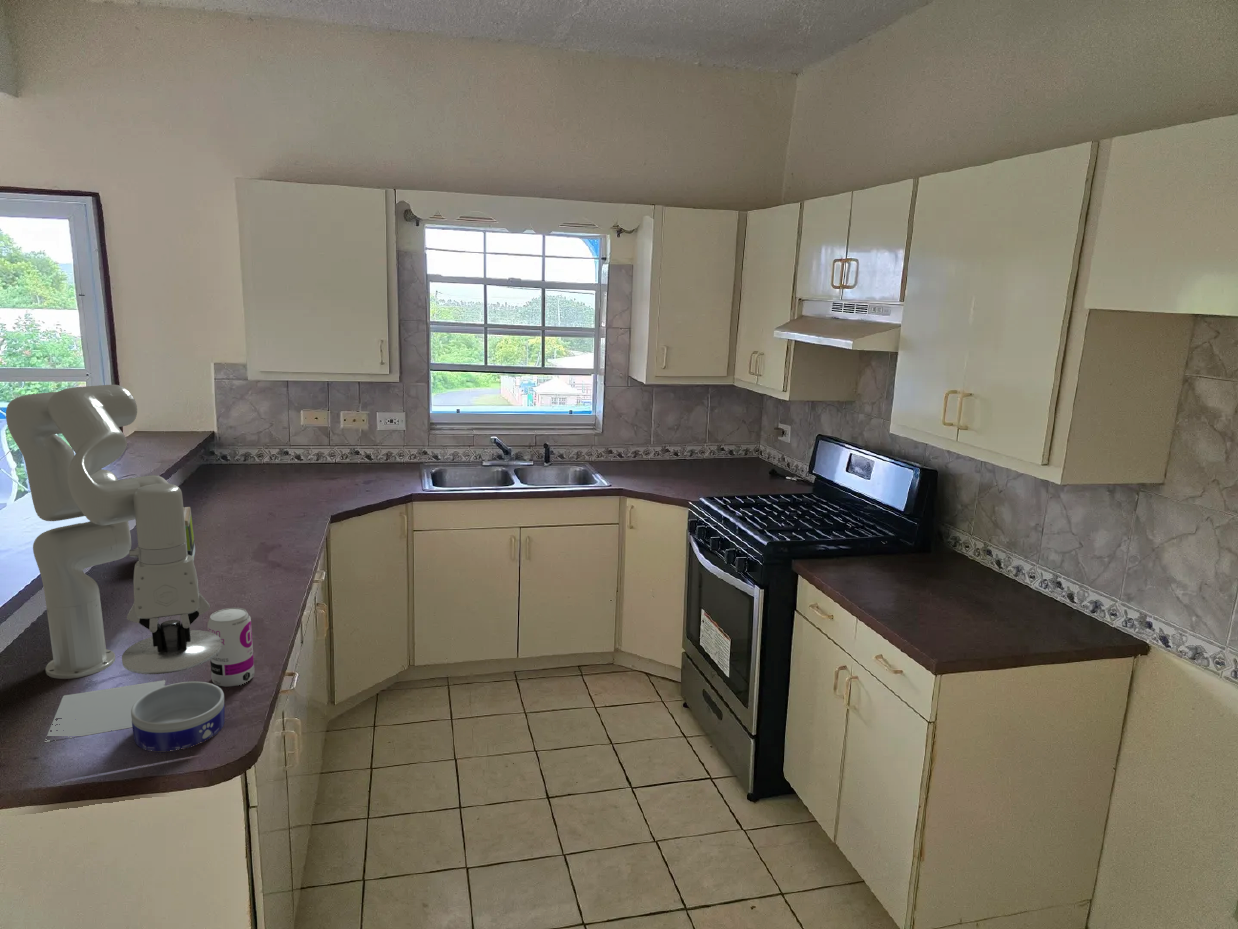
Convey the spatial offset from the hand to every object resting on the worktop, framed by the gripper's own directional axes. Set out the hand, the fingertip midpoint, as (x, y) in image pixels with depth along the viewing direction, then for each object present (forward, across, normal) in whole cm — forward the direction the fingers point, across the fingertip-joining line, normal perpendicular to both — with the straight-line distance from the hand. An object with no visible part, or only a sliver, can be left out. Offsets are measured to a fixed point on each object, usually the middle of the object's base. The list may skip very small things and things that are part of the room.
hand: (172, 646), depth 146 cm
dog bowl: (+17, 0, 0) cm, 17 cm away
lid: (+1, 0, 0) cm, 1 cm away
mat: (+17, -13, +13) cm, 25 cm away
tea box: (+17, -7, +102) cm, 104 cm away
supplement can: (+18, +9, +18) cm, 27 cm away
